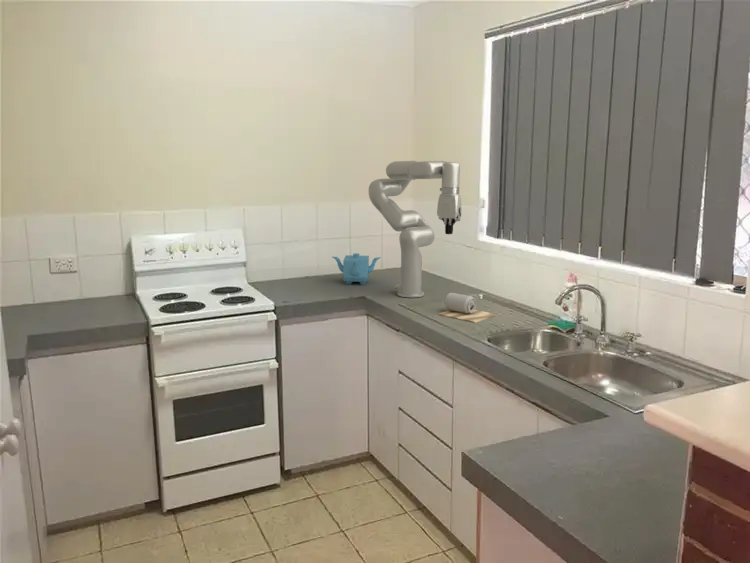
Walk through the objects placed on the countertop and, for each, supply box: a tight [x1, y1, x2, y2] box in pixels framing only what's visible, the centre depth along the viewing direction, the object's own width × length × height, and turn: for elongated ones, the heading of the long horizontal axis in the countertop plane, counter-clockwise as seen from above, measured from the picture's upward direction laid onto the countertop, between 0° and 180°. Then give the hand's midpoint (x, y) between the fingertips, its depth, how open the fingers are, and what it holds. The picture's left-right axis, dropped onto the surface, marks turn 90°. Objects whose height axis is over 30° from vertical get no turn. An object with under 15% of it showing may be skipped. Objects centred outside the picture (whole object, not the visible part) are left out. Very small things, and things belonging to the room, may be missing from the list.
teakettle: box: [331, 252, 382, 286], centre depth 338 cm, size 19×19×15 cm
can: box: [444, 292, 477, 314], centre depth 280 cm, size 8×8×12 cm
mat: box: [438, 309, 498, 324], centre depth 278 cm, size 18×16×1 cm
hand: (448, 233), depth 291 cm, fingers closed
